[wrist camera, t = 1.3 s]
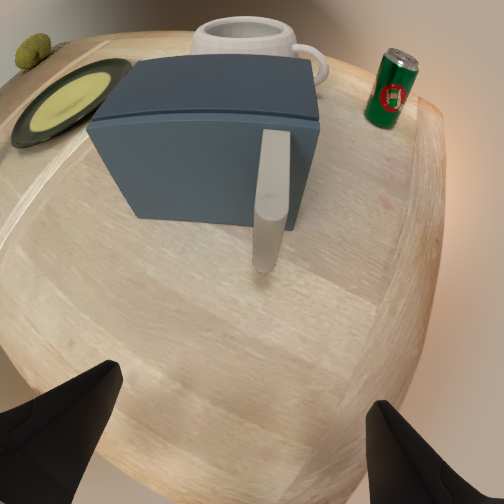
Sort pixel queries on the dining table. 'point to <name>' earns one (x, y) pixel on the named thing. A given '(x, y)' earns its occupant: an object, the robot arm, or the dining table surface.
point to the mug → (253, 40)
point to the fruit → (32, 51)
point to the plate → (68, 101)
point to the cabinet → (215, 87)
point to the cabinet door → (212, 169)
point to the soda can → (391, 87)
